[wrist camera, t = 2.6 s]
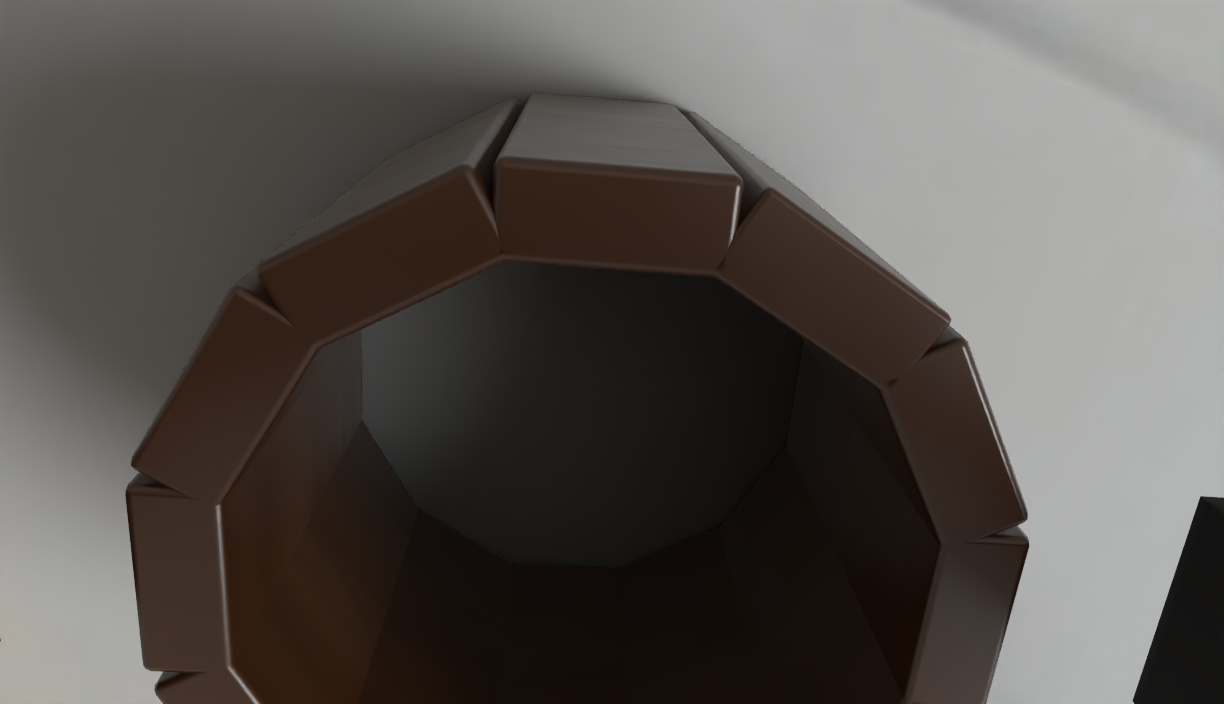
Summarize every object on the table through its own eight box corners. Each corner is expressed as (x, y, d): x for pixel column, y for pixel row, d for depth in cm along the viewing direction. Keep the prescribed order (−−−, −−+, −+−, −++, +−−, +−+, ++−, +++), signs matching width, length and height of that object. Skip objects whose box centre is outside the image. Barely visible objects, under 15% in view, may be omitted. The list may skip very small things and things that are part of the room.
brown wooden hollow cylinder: (193, 253, 14) (-70, 423, 8) (728, -11, 13) (842, -22, 7) (468, 678, 17) (412, 1019, 11) (925, 489, 16) (1118, 760, 10)
